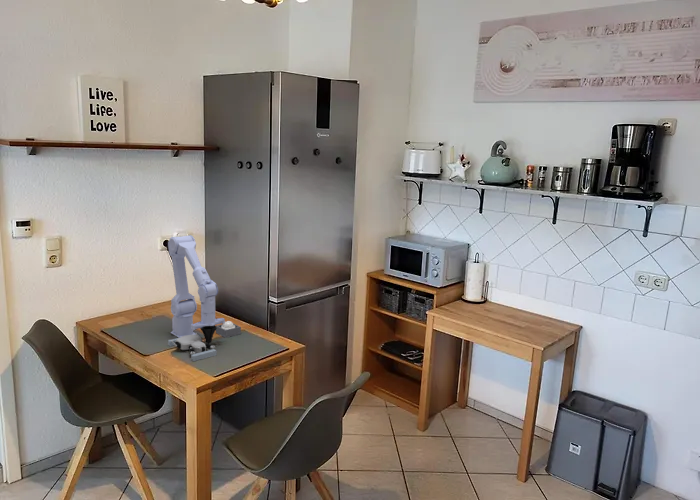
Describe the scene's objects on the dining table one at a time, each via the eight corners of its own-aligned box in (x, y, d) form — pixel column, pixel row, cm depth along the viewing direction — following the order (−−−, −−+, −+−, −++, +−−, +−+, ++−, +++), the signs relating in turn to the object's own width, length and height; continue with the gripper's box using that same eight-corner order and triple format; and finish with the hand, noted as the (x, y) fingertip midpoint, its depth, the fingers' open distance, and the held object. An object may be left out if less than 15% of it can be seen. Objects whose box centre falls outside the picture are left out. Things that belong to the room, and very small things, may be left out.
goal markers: (167, 344, 224) (167, 340, 224) (190, 339, 231) (190, 335, 231) (193, 361, 209) (193, 356, 209) (216, 355, 216) (216, 350, 215)
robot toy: (216, 353, 220) (195, 341, 230) (217, 343, 219) (195, 331, 228) (190, 361, 211) (169, 348, 220) (191, 350, 210) (170, 338, 219)
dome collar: (215, 332, 241) (215, 325, 240) (231, 329, 246) (231, 322, 246) (225, 337, 235) (225, 330, 235) (240, 333, 241) (240, 326, 240)
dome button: (218, 331, 241) (218, 320, 240) (230, 328, 245) (230, 318, 244) (225, 334, 236) (225, 324, 236) (237, 331, 241) (237, 321, 240)
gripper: (196, 317, 215) (197, 349, 217) (228, 310, 225) (228, 341, 227) (188, 312, 220) (188, 344, 222) (219, 306, 230) (220, 336, 232)
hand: (208, 342), depth 225 cm, fingers closed
